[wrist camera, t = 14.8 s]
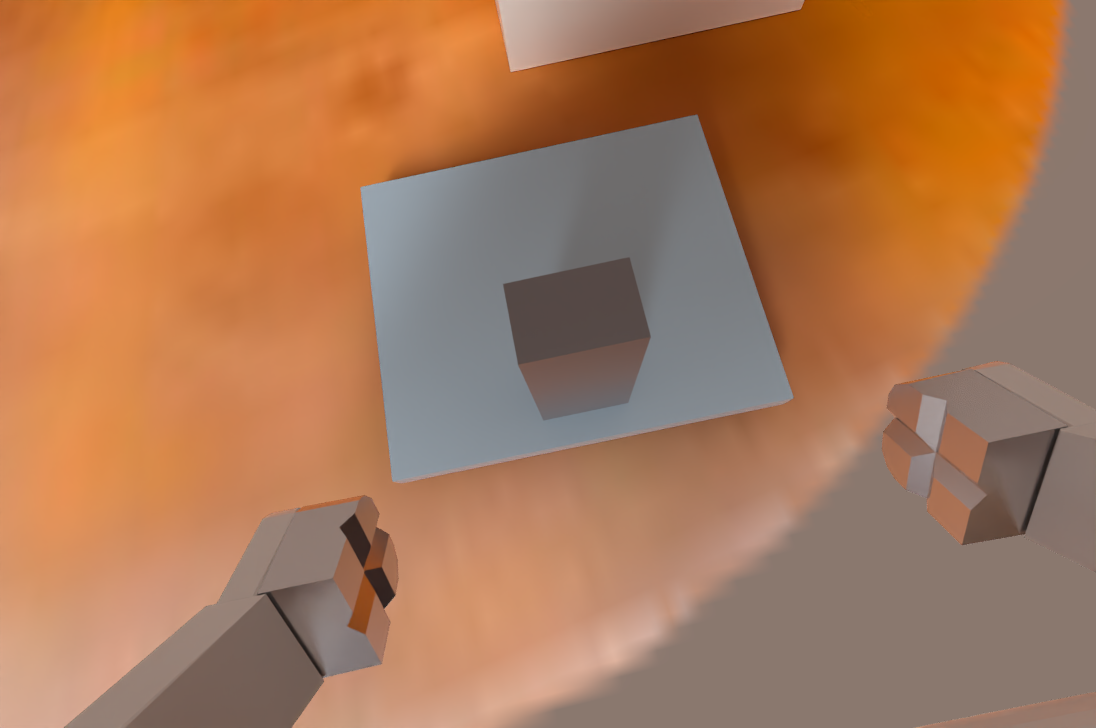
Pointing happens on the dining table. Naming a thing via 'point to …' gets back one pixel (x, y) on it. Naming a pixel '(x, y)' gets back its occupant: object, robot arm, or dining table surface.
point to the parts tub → (613, 24)
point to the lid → (562, 301)
